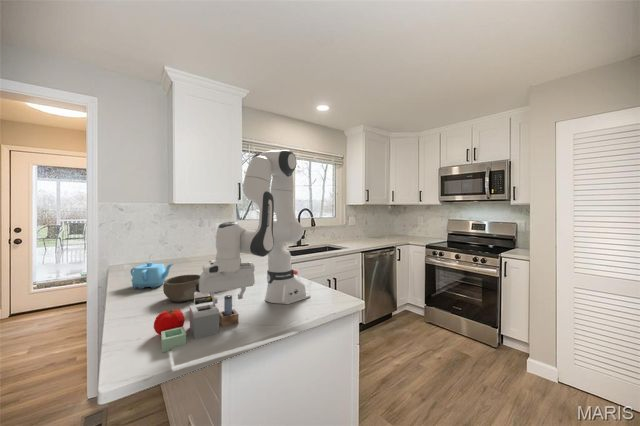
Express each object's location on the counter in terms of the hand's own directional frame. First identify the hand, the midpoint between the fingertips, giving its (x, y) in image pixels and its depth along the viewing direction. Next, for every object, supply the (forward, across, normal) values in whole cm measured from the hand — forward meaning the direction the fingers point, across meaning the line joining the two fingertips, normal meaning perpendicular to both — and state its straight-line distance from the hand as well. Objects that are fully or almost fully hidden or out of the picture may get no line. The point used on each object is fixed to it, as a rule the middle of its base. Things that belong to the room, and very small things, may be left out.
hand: (227, 300), depth 103 cm
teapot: (+10, +22, -73) cm, 77 cm away
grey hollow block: (+9, +9, +2) cm, 13 cm away
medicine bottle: (+10, +5, -21) cm, 24 cm away
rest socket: (+9, +19, +5) cm, 22 cm away
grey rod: (+8, 0, 0) cm, 8 cm away
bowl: (+10, +10, -41) cm, 43 cm away
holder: (+9, 0, 0) cm, 9 cm away
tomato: (+10, +19, -4) cm, 22 cm away
